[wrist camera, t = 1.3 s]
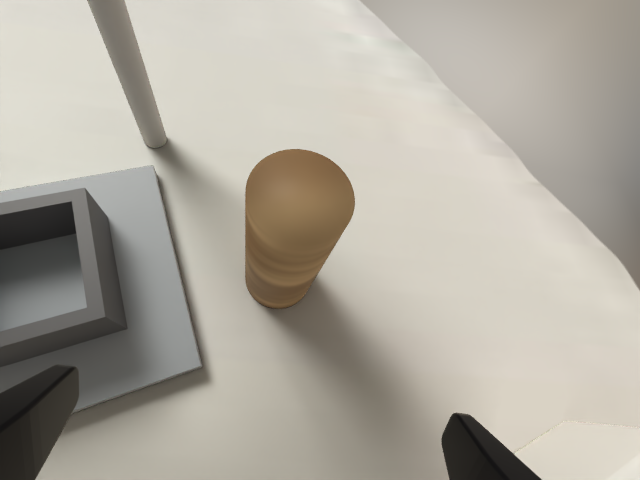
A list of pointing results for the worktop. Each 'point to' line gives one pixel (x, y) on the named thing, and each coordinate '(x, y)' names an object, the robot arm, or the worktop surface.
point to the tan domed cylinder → (292, 223)
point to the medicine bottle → (584, 452)
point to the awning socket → (96, 262)
